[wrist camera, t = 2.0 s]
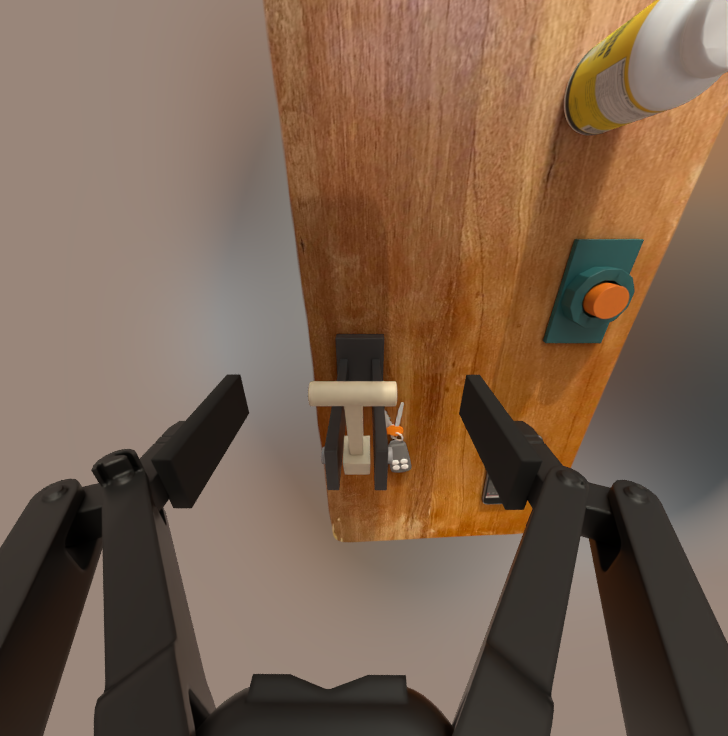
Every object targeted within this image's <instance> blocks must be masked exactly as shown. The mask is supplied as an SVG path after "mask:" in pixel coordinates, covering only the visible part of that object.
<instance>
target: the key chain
mask: <svg viewBox="0 0 728 736" xmlns="http://www.w3.org/2000/svg"><path fill="white" fill-rule="evenodd" d="M403 405H404V403H402V402H401V405H400V408H399V410H398V415H397V418H396V423H395V425H393V424H391V423H392V422H391V421H389V420H390V417H389V416H388V415H387V414H386V413H387V411H385V420H386V430H387V434H388V435H389V434H390V435H391V438H392V439H395V440H392V441H390V444H388V447H392V452H393V462H392V464H390V469H391V471H392V472H396V473H397V472H405V471H408V470H410V469H411V462H410V457H409V453H408V449H407V445H406V443H405V442H403V436H402V433H403V428H402V427H401V426H399V424H400V418H401V416H402V411H403ZM399 435H400V436H401V438H402V439H397V436H399ZM394 436H396V437H394Z"/></svg>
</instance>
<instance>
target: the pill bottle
mask: <svg viewBox="0 0 728 736" xmlns="http://www.w3.org/2000/svg"><path fill="white" fill-rule="evenodd" d="M726 72H728V0H656V1H654V2H653V3H652V4H650V5H649V6H648V7H646V8H645V9H644V10H643V11H641V12H640V13H639V14H637V15H636V16H635V17H633V18H632V19H631V20H629V21H628V22H627V23H625V24H624V25H623V26H621V27H620V28H619V29H617V30H616V31H614V32H613V33H612V34H610V35H609V36H608V37H606V38H605V39H604V40H602V41H601V42H600V43H598V44H597V45H596V46H595V47H593V48H592V49H591V50H590V51H589V52H588V53H587V54H586V55H585V56H584V57H583V58H582V59H581V61H580V62H579V63H578V65H577V66H576V68H575V70H574V71H573V73H572V75H571V77H570V79H569V82H568V85H567V88H566V92H565V97H564V112H565V117H566V120H567V122H568V124H569V125H570V127H571V128H572V129H573V130H574V131H576V132H577V133H579V134H582V135H597V134H601V133H604V132H607V131H610V130H612V129H615V128H618V127H621V126H624V125H626V124H629V123H632V122H635V121H638V120H641V119H644V118H646V117H649V116H652V115H655V114H658V113H661V112H664V111H667V110H670V109H673V108H675V107H678V106H680V105H683V104H685V103H687V102H689V101H691V100H692V99H694V98H696V97H697V96H699V95H700V94H701V93H703V92H704V91H705V90H707V89H708V88H709V87H710V86H711V85H712V84H713V83H715V82H716V81H717V80H718V79H719V78H720V77H721V75H722V74H724V73H726Z"/></svg>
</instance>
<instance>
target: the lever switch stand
mask: <svg viewBox="0 0 728 736" xmlns="http://www.w3.org/2000/svg"><path fill="white" fill-rule="evenodd" d="M336 356H337V375H338V376H337V381H383V360H384V334H337V335H336ZM372 419H373V450H374V481H375V490H387V472H388V464H392V462H393V452H392V447H388V441H387V430H386V420H385V410H384V406H372ZM345 426H346V417H345V409H344V406H332V410H331V415H330V421H329V426H328V432H327V437H326V443H325V447H323V448H322V454H321V461H322V464H325V468H326V479H327V489H328V490H339V487H340V477H341V466H342V456H343V446H344V436H345Z"/></svg>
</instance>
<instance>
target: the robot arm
mask: <svg viewBox="0 0 728 736" xmlns="http://www.w3.org/2000/svg"><path fill="white" fill-rule="evenodd" d="M248 414H249V410H248V406H247V402H246V397H245V393H244V389H243V384H242V380H241V376H240V375H226V376H225V378H224V379H223V380H222V381H221V382H220V383H219V384H218V386H216V388H215V389H214V390H213V391H212V392H211V393H210V394H209V395H208V396H207V398H206V399H205V400H204V401H203V402H202V403H201V404H200V405H199V407H198V408H197V409H196V410H195V411H194V412H193V413H192V414H191V415H190V417H189V418H188V419H187V420H186V421H179V422H177V423H176V424H174V425H173V426H171V427H170V428H168V429H167V431H166V432H165V433H164V434H163V435H162V437H160V438H159V439H158V440H157V441H156V443H155V444H153V446H152V447H150V449H148V451H147V452H146V453H145V454H144V455H143V456H142V457H141V458H140V459H139V457H138V456H137V453H136V452H135V451H134V450H131V449H122V450H118V451H115V452H112V453H110V454H108V455H106V456H104V457H103V458H101V459H100V460H98V461H97V462H96V464H95V465H93V468H92V472H93V474H94V475H95V477H96V479H97V480H98V482H99V483H98V484H93V485H89V486H85V487H82V486H81V485H80V483H79V482H78V481H77V480H76V479H66V480H61V481H58V482H56V483H53V484H51V485H49V486H47V487H45V488H43V489H42V490H41V491H39V492H38V493H37V494H36V495H35V496H34V497H33V498H32V499H31V500H30V502H29V503H28V505H27V506H26V508H25V509H24V511H23V513H22V514H21V516H20V517H19V519H18V521H17V522H16V524H15V525H14V527H13V529H12V530H11V532H10V533H9V535H8V536H7V538H6V540H5V541H4V543H3V544H2V546H1V548H0V736H43V734H44V731H45V727H46V724H47V721H48V718H49V715H50V712H51V708H52V705H53V702H54V699H55V696H56V693H57V689H58V686H59V683H60V680H61V677H62V673H63V671H64V667H65V664H66V661H67V658H68V655H69V652H70V649H71V645H72V642H73V639H74V636H75V633H76V630H77V627H78V623H79V620H80V617H81V614H82V611H83V608H84V604H85V601H86V598H87V595H88V592H89V589H90V585H91V582H92V579H93V576H94V573H95V570H96V567H97V563H98V560H99V557H100V554H101V551H102V548H103V590H104V635H105V636H104V637H105V690H104V693H103V694H102V695H101V696H100V697H99V698H98V700H97V703H96V706H95V714H94V736H550V733H551V727H552V720H553V712H554V703H553V700H552V698H551V691H552V684H553V679H554V674H555V669H556V663H557V658H558V652H559V647H560V642H561V637H562V631H563V626H564V620H565V615H566V610H567V605H568V599H569V594H570V588H571V583H572V578H573V573H574V567H575V562H576V557H577V552H578V546H579V541H580V536H583V537H586V538H589V542H590V547H591V552H592V557H593V563H594V567H595V573H596V578H597V583H598V588H599V594H600V598H601V604H602V609H603V614H604V619H605V625H606V629H607V634H608V640H609V645H610V650H611V655H612V661H613V666H614V671H615V676H616V681H617V687H618V692H619V697H620V702H621V707H622V713H623V718H624V722H625V728H626V733H627V736H728V643H727V641H726V639H725V637H724V635H723V632H722V630H721V628H720V626H719V624H718V622H717V620H716V618H715V616H714V614H713V611H712V609H711V607H710V605H709V603H708V601H707V599H706V597H705V594H704V593H703V590H702V588H701V586H700V584H699V582H698V580H697V578H696V576H695V573H694V571H693V569H692V567H691V565H690V563H689V561H688V559H687V556H686V554H685V552H684V550H683V548H682V546H681V544H680V542H679V540H678V537H677V535H676V533H675V531H674V529H673V527H672V525H671V523H670V521H669V519H668V516H667V514H666V512H665V510H664V508H663V506H662V504H661V502H660V501H659V499H658V498H657V496H656V495H654V494H653V493H652V492H651V491H650V490H648V489H647V488H645V487H643V486H642V485H640V484H636V483H634V482H632V481H627V480H617V481H616V482H615V483H613V485H612V487H611V488H609V487H605V486H601V485H596V484H592V483H589V482H588V481H587V480H586V479H585V477H583V476H582V475H581V474H580V473H579V472H577V471H575V470H573V469H571V468H568V467H565V466H563V465H562V464H561V463H560V462H559V460H558V459H557V458H556V457H555V455H554V454H553V453H552V452H551V450H550V449H549V448H548V447H547V445H546V444H544V442H543V440H542V439H541V438H540V437H539V435H538V434H537V433H536V432H535V430H534V429H533V428H532V427H530V426H529V425H528V424H526V423H525V422H523V421H513V420H512V418H511V417H510V416H509V414H508V413H507V412H506V410H505V409H504V407H503V406H502V405H501V403H500V402H499V401H498V399H497V398H496V397H495V395H494V394H493V392H492V391H491V390H490V388H489V387H488V386H487V384H486V383H485V381H484V380H483V379H482V377H481V376H480V375H466V379H465V385H464V390H463V396H462V401H461V406H460V412H459V414H460V416H461V418H462V421H463V423H464V425H465V427H466V429H467V431H468V433H469V435H470V437H471V439H472V441H473V443H474V446H475V448H476V450H477V452H478V454H479V456H480V458H481V460H482V462H483V464H484V466H485V468H486V471H487V473H488V475H489V477H490V479H491V481H492V483H493V485H494V487H495V489H496V491H497V493H498V496H499V498H500V500H501V502H502V504H503V506H504V508H505V510H524V508H525V505H526V502H527V500H528V501H529V503H530V505H531V507H532V508H533V509H532V512H531V514H530V517H529V519H528V522H527V524H526V528H525V530H524V533H523V536H522V539H521V541H520V544H519V547H518V550H517V552H516V555H515V557H514V560H513V563H512V565H511V568H510V571H509V574H508V576H507V579H506V582H505V584H504V587H503V590H502V592H501V596H500V598H499V601H498V603H497V606H496V609H495V611H494V614H493V617H492V619H491V622H490V625H489V628H488V630H487V633H486V635H485V638H484V641H483V644H482V646H481V649H480V652H479V654H478V657H477V660H476V662H475V665H474V668H473V671H472V673H471V676H470V679H469V682H468V684H467V686H466V689H465V692H464V694H463V697H462V699H461V702H460V704H459V707H458V710H457V712H456V715H455V718H454V720H453V723H452V725H451V723H450V722H449V721H448V719H447V718H446V717H445V716H444V714H443V713H442V712H441V711H440V710H439V709H438V708H437V707H436V706H435V705H434V704H433V703H432V702H431V701H430V700H429V699H427V698H426V697H425V696H424V695H422V694H420V693H419V692H417V691H415V690H413V689H411V688H408V687H407V686H406V676H405V675H367V676H364V677H362V678H359V679H356V680H353V681H351V682H348V683H345V684H343V685H340V686H337V687H335V688H332V689H324V688H322V687H320V686H317V685H315V684H312V683H310V682H307V681H305V680H303V679H300V678H298V677H295V676H293V675H291V674H253V676H252V681H251V684H250V687H248V688H245V689H243V690H242V691H240V692H238V693H236V694H234V695H233V696H232V697H230V698H229V699H227V700H226V701H224V702H223V703H222V704H221V705H220V706H219V707H218V708H216V707H215V704H214V701H213V698H212V695H211V692H210V690H209V687H208V685H207V682H206V678H205V674H204V671H203V666H202V662H201V658H200V653H199V649H198V645H197V641H196V637H195V633H194V628H193V625H192V620H191V616H190V612H189V608H188V603H187V600H186V595H185V591H184V587H183V583H182V579H181V574H180V570H179V566H178V562H177V558H176V553H175V549H174V545H173V541H172V537H171V532H170V528H169V524H168V520H167V516H166V512H165V510H164V508H163V507H164V505H165V504H166V502H167V501H168V500H170V502H171V504H172V506H173V508H192V507H193V505H194V504H195V502H196V500H197V499H198V497H199V495H200V494H201V492H202V490H203V489H204V487H205V485H206V484H207V482H208V480H209V479H210V477H211V475H212V474H213V472H214V470H215V469H216V467H217V466H218V464H219V462H220V460H221V459H222V457H223V456H224V454H225V452H226V451H227V449H228V447H229V446H230V444H231V442H232V441H233V439H234V437H235V436H236V434H237V432H238V431H239V429H240V428H241V426H242V424H243V423H244V421H245V419H246V418H247V416H248Z"/></svg>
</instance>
